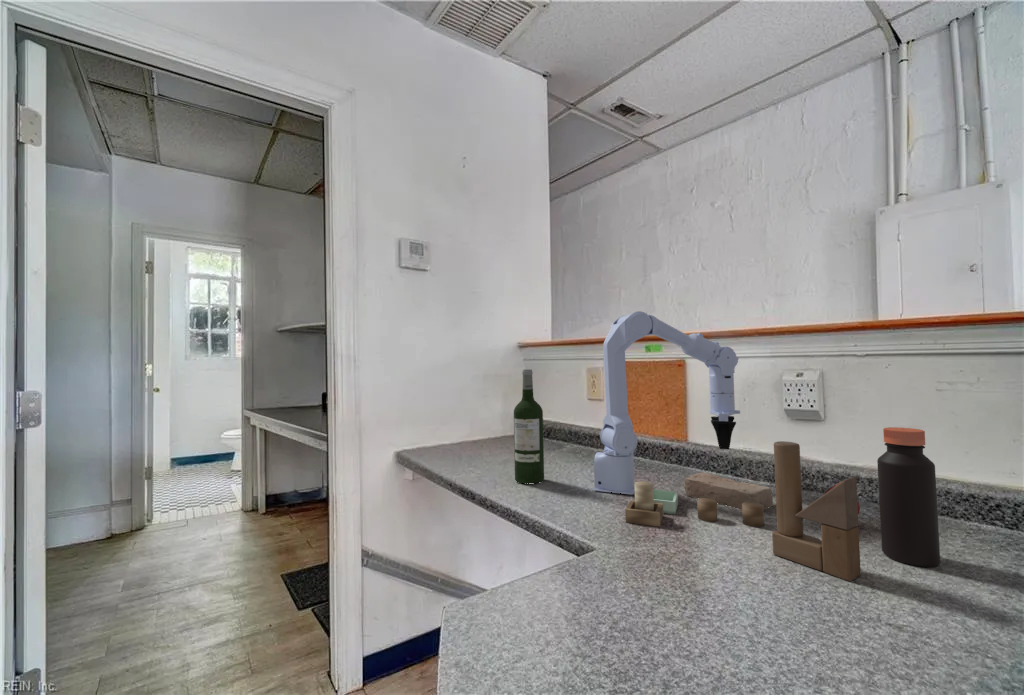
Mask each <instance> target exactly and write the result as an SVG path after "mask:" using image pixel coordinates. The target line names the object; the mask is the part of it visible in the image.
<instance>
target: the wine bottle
mask: <svg viewBox="0 0 1024 695" xmlns="http://www.w3.org/2000/svg"><path fill="white" fill-rule="evenodd" d="M521 374H522V392H521V394H522V395H521V396H522V398H521V400H520V401H519V402H518V403H517V404H516V405H515V407H514V409H513V443H514V444H513V446H514V449H513V450H514V453H513V454H514V455H513V456H514V480H516V481H517V482H519V483H518V484H520V483H526V484H525V485H529V483H539V482H541V483H543V482H544V481H545V462H544V461H545V457H544V456H545V455H544V454H545V453H544V414H543V413H544V411H543V408H542V406H541V405H540V404H539V403H538V402H537V401H536V400H535V398H534V385H533V369H529V368H528V369H522V373H521ZM516 481H515V482H516ZM542 481H543V482H542ZM517 482H516V483H517ZM527 483H528V484H527ZM539 484H540V483H539Z"/></svg>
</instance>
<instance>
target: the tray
mask: <svg viewBox="0 0 1024 695" xmlns="http://www.w3.org/2000/svg"><path fill="white" fill-rule="evenodd" d="M653 496H654V503H663V514H668V515H669V514H670V515H676V514H677V510H678V505H679V494H678V491H674V490H664V489H654V488H653Z"/></svg>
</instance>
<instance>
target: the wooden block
mask: <svg viewBox="0 0 1024 695" xmlns="http://www.w3.org/2000/svg"><path fill="white" fill-rule="evenodd" d="M800 449H801V446H800V444H799V443H797V442H793V441H780V440H779V441H775V442H774V443H773V459H774V461H773V462H774V485H775V504H776V505H775V507H776V530H775V531H773V532H772V533H771V535H772V536H771V537H772V554H773V555H775V556H778V557H780V558H784V559H787V560H790V561H792V562H795V563H796V564H797V563H798V564H800V565H803V566H806V567H809V568H811V569H815V570H818V571H821V572H822V571H823V573H825V574H828V575H831V576H834V577H836V578H839V579H842V580H845V581H848V582H849V581H850V582H851V581H854V580H855V579H857V578H859V577H860V576H861V574H862V572H861V569H862V568H861V555H860V554H861V551H860V548H861V547H860V531H859V530H860V529H859V514H858V503H859V502H858V503H857V501H858V488H857V487H858V486H857V477H856V476H853V477H850V478H847V479H844V480H842V481H840V482H841V483H840V484H838V485H837V486H835V485H834V486H835V487H834V488H833V489H831V490H830V491H828V492H827V493H826V494H824V493H823V494H824V495H823V494H822V496H820V497H819V498H816V500H814V501H813V502H812V503H810V504H809V505H808V506H806V507H805V508H803V495H802V494H803V492H802V490H803V488H802V474H801V473H802V471H801V470H802V468H801V466H802V465H801V450H800ZM804 520H808V521H811V522H815V523H819V524H821V525H820V530H821V531H820V532H821V533H820V535H821V539H820V538H818V537H815V536H812V535H809V534H805V533H804Z"/></svg>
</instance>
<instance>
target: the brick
mask: <svg viewBox="0 0 1024 695" xmlns="http://www.w3.org/2000/svg"><path fill="white" fill-rule="evenodd" d="M683 482H684V483H683V484H684V485H683V487H684V492H685V496H689V497H691V498H693V497H694V499H696V498H710V499H714V500H716V501H717V503H718V504H717V505H720V504H723V505H722V506H725V505H727V506H726V507H728V506H731V507H730V508H733V507H735V508H734V509H736V508H738V510H740V509H742V503H745V502H752V503H758V504H761V505H763V511H765V510H767V509H766V508H768V507H771V506H773V507H774V502H773V501H774V499H773V491H772V488H771V487H769V486H764V485H759V484H756V483H751V482H750V483H749V482H744V481H741V482H738V481H737V480H733V479H731V478H725V477H722V476H719V475H715V474H712V473H709V472H697V473H695V474H692V475H690V476H689V477H685V478H684V480H683ZM771 508H772V507H771ZM764 509H765V510H764ZM768 509H769V508H768Z"/></svg>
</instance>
